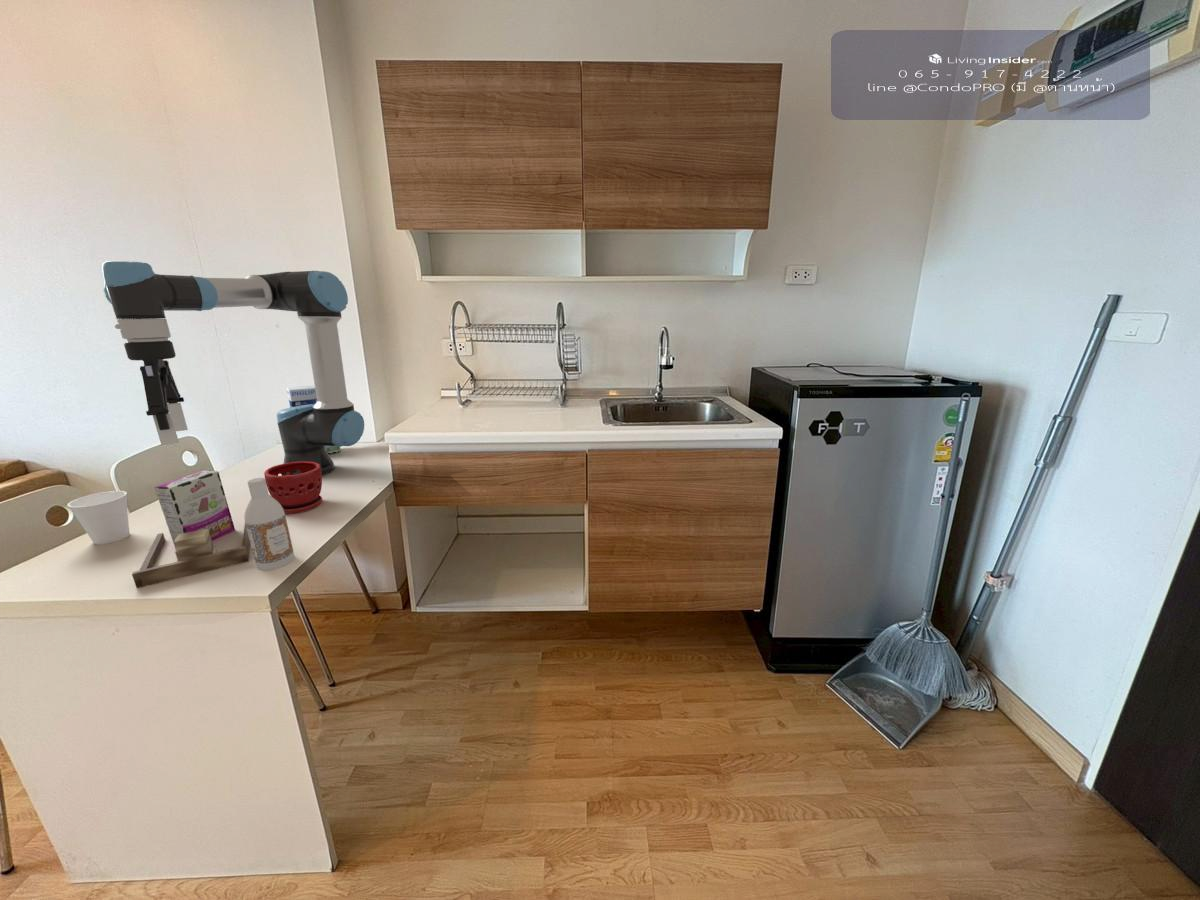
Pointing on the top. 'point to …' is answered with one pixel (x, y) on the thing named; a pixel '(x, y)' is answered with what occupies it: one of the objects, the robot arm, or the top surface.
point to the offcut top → (192, 539)
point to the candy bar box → (195, 505)
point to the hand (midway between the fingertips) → (175, 437)
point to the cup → (103, 516)
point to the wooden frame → (187, 563)
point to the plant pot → (295, 486)
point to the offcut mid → (195, 551)
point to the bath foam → (267, 528)
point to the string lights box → (306, 403)
